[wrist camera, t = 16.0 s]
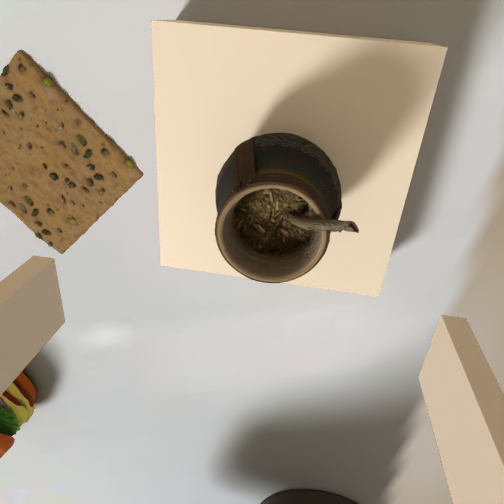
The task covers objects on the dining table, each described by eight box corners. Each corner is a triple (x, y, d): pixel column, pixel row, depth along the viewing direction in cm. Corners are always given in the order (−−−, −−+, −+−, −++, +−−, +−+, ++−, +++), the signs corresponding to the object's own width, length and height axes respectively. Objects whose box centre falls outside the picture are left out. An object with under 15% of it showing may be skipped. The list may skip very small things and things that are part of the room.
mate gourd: (202, 162, 27) (150, 232, 18) (303, 92, 24) (298, 134, 15) (265, 247, 29) (246, 343, 21) (364, 192, 26) (389, 277, 18)
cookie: (65, 255, 38) (59, 260, 37) (-51, 153, 35) (-60, 156, 34) (148, 173, 33) (144, 177, 32) (22, 45, 30) (14, 45, 29)
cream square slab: (371, 261, 34) (378, 297, 30) (180, 234, 36) (160, 265, 31) (427, 42, 26) (447, 47, 22) (178, 19, 28) (151, 20, 23)
